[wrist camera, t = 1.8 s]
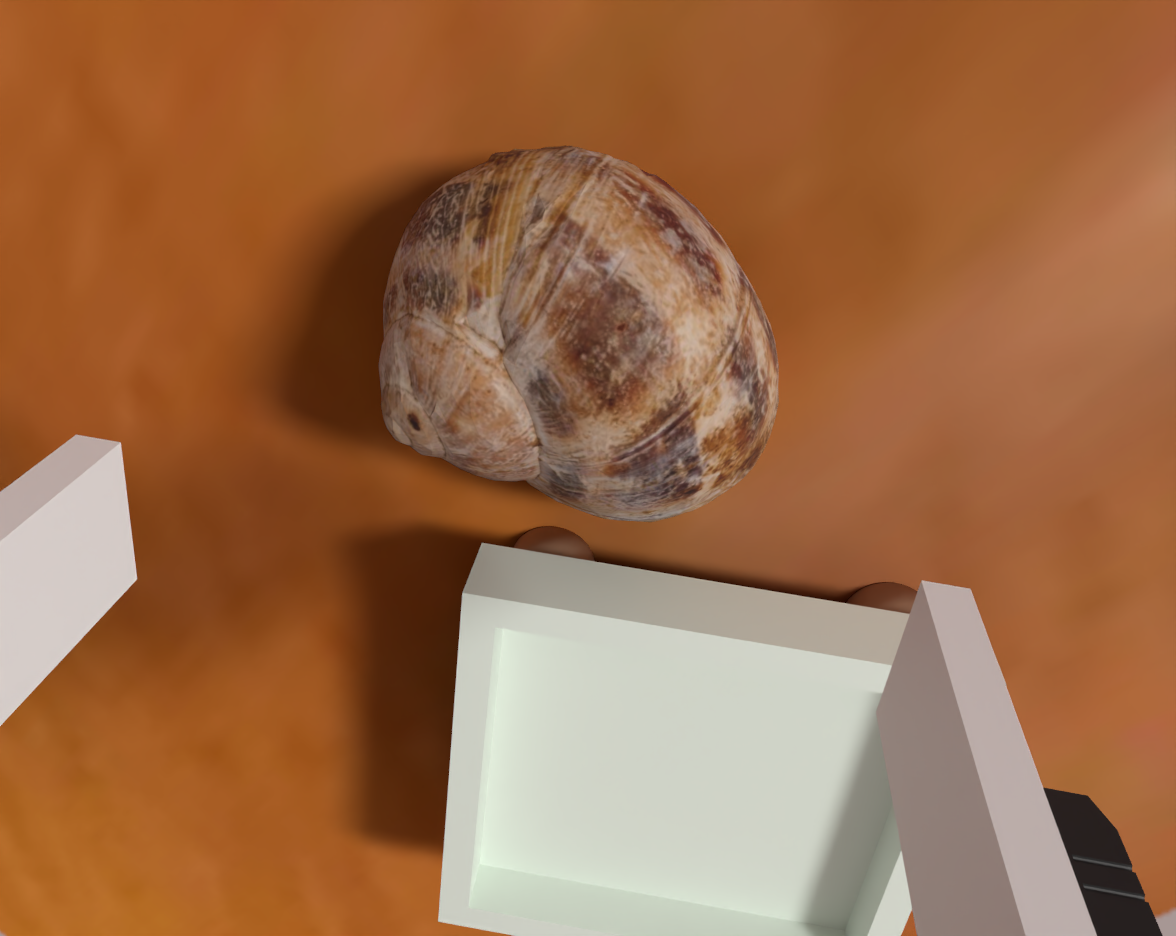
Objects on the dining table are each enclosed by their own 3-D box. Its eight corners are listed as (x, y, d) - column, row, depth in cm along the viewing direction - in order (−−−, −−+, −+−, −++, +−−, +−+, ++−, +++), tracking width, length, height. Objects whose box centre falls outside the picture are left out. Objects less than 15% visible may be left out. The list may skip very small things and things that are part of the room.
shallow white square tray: (470, 808, 39) (438, 921, 34) (498, 501, 32) (462, 592, 27) (854, 876, 38) (872, 1001, 34) (964, 578, 31) (1006, 684, 27)
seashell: (423, 503, 31) (304, 491, 22) (449, 223, 32) (346, 84, 22) (757, 532, 30) (795, 533, 21) (779, 242, 31) (827, 106, 21)
